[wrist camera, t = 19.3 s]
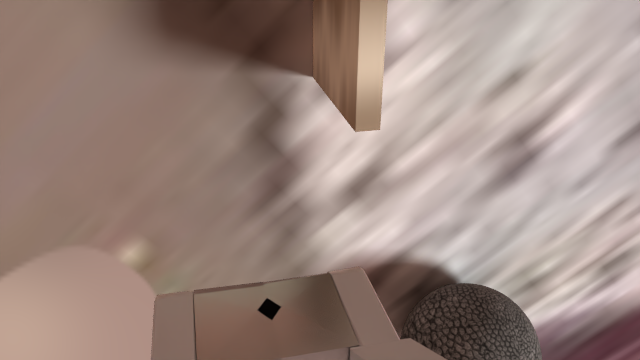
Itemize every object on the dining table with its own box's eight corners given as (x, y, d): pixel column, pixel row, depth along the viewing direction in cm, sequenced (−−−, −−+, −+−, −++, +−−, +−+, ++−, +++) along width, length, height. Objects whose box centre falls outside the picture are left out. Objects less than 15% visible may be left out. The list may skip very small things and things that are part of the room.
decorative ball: (419, 243, 41) (484, 336, 32) (517, 273, 45) (600, 362, 36) (360, 343, 44) (405, 451, 35) (457, 363, 48) (519, 464, 39)
